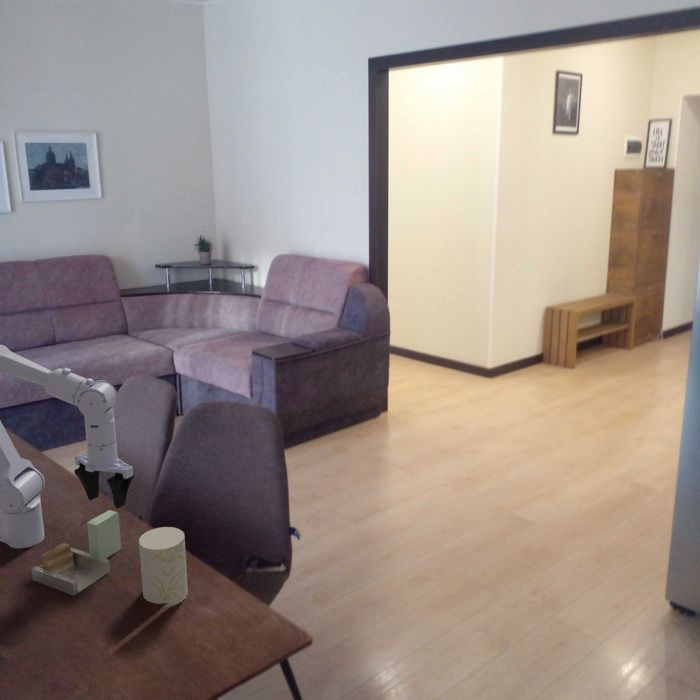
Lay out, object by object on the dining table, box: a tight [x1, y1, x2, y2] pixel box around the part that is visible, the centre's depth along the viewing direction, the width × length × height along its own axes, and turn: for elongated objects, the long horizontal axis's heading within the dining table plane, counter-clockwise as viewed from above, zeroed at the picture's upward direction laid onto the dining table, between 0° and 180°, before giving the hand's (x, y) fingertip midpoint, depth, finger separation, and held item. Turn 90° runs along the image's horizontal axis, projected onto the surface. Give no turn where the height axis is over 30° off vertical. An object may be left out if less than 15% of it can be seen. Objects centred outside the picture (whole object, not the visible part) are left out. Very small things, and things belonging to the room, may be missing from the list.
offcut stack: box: [38, 542, 74, 574], centre depth 138 cm, size 2×6×4 cm, turn 153°
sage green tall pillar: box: [86, 509, 122, 560], centre depth 143 cm, size 2×6×9 cm, turn 153°
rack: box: [30, 546, 111, 596], centre depth 137 cm, size 11×9×4 cm
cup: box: [138, 526, 189, 609], centre depth 131 cm, size 8×8×12 cm
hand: (106, 502), depth 147 cm, fingers open, 7 cm apart
